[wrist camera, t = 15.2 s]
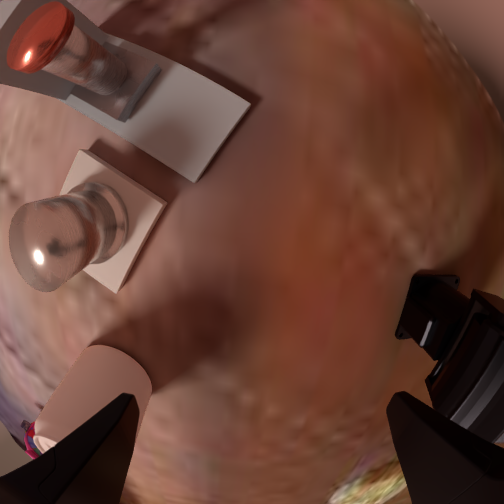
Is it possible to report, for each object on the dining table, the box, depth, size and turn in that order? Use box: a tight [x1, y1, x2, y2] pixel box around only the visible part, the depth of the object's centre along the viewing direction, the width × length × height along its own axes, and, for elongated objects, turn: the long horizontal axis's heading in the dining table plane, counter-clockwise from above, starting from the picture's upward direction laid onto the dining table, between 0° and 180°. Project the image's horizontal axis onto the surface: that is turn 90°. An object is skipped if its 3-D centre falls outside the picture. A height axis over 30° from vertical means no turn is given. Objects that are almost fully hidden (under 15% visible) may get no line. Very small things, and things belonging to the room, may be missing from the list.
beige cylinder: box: [33, 345, 152, 453], centre depth 17 cm, size 8×8×12 cm
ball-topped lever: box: [7, 1, 162, 123], centre depth 10 cm, size 5×4×10 cm
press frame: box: [0, 0, 251, 294], centre depth 12 cm, size 16×17×11 cm
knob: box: [9, 182, 129, 292], centre depth 14 cm, size 6×6×7 cm
